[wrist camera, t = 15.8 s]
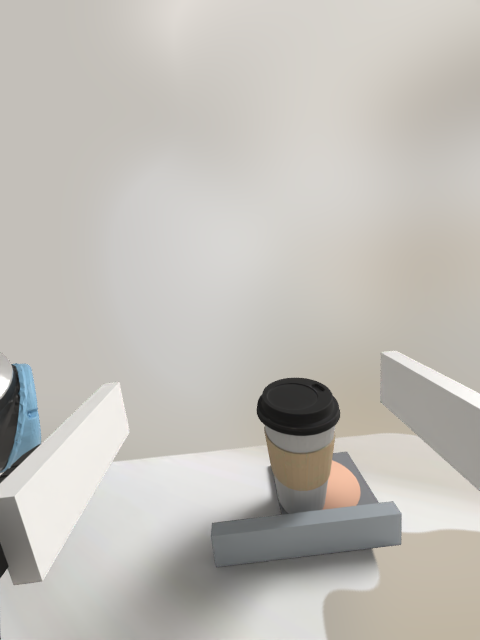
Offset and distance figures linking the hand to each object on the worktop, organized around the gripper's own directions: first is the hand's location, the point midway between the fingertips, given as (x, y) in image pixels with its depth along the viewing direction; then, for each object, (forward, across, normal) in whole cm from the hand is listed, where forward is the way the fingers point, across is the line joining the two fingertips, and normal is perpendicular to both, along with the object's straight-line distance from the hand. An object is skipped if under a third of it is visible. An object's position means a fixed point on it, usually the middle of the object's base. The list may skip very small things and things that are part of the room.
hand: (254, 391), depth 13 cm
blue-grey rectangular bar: (+11, +5, -25) cm, 28 cm away
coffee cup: (+16, +6, -24) cm, 30 cm away
